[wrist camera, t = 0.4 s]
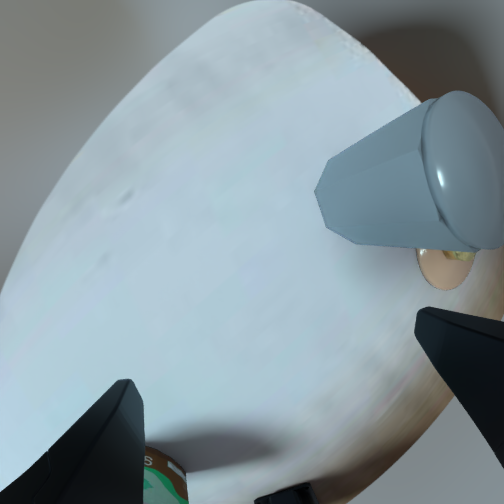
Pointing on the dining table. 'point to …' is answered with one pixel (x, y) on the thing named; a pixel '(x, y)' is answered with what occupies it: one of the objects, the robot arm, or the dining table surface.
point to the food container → (163, 479)
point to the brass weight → (458, 255)
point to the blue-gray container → (422, 180)
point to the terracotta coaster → (442, 269)
